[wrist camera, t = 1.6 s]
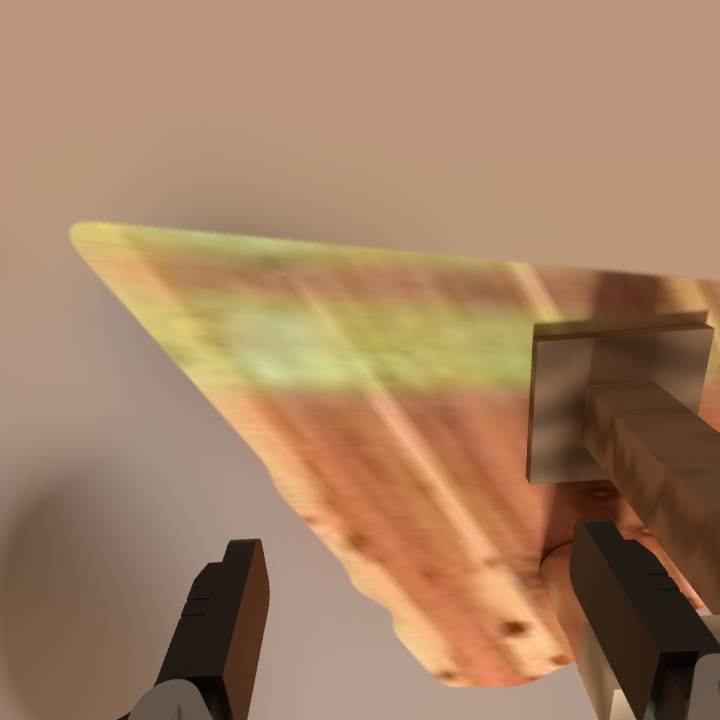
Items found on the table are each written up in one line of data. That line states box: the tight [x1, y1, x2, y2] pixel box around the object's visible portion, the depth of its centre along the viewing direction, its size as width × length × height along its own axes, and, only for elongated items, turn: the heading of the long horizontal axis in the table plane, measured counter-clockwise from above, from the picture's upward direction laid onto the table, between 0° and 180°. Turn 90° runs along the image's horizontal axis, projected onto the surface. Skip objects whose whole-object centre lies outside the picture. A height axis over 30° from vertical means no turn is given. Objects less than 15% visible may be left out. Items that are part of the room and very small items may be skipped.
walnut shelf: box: [526, 324, 720, 615], centre depth 40 cm, size 19×18×36 cm
